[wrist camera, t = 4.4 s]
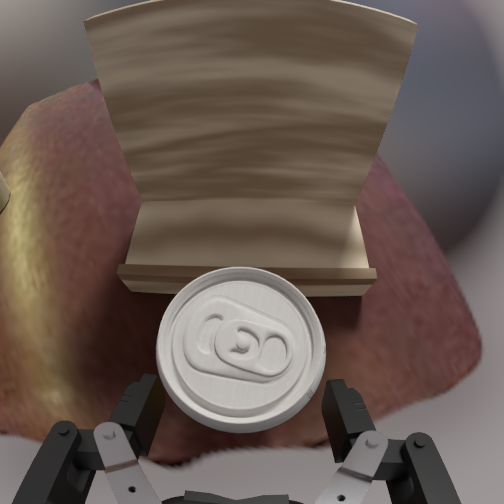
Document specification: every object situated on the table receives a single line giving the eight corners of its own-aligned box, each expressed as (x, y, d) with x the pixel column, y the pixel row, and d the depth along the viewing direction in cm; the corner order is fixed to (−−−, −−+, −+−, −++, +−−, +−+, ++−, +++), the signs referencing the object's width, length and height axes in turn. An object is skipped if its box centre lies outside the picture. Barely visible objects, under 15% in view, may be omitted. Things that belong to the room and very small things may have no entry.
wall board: (362, 295, 25) (503, 85, 6) (131, 291, 25) (-4, 81, 6) (345, 208, 31) (408, 19, 12) (151, 205, 31) (94, 15, 12)
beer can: (221, 336, 23) (188, 237, 10) (290, 357, 22) (349, 283, 10) (197, 401, 20) (119, 391, 7) (269, 424, 19) (306, 457, 7)
